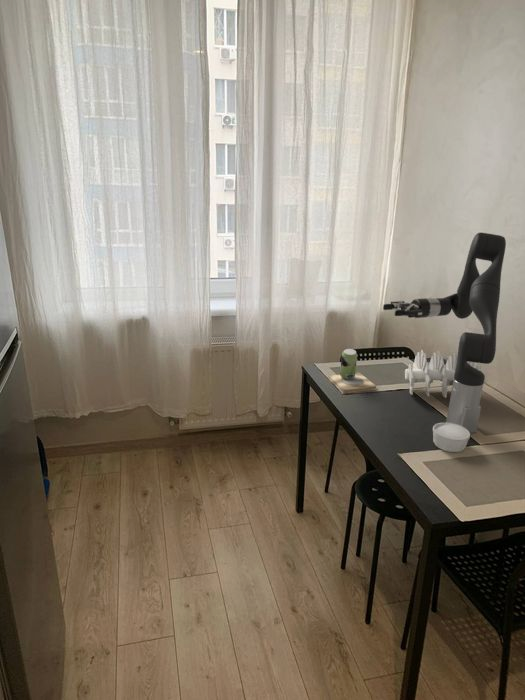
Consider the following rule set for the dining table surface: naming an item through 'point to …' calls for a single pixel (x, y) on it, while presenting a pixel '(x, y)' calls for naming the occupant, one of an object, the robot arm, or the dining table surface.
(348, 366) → the beverage can
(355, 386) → the hub seat
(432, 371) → the white adirondack chairs
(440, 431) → the ramekin
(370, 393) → the dining table surface
